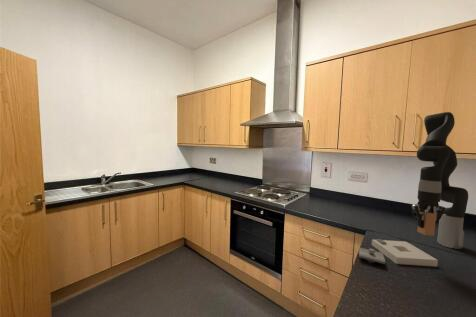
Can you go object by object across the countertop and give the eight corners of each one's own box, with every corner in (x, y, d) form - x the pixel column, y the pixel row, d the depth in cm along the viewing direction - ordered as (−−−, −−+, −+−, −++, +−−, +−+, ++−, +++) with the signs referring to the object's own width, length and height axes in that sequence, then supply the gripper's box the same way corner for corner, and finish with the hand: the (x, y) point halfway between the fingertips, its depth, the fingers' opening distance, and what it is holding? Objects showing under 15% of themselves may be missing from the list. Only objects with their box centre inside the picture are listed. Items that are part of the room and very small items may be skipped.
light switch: (382, 258, 96) (383, 248, 96) (385, 268, 87) (386, 257, 87) (358, 252, 101) (359, 242, 100) (358, 261, 92) (359, 250, 92)
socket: (405, 247, 109) (406, 240, 109) (437, 266, 91) (438, 258, 91) (371, 244, 109) (372, 238, 109) (396, 263, 92) (396, 255, 91)
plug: (425, 231, 94) (428, 206, 93) (434, 235, 90) (436, 209, 89) (417, 231, 94) (419, 206, 93) (425, 235, 90) (427, 208, 89)
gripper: (437, 189, 95) (433, 225, 96) (406, 187, 95) (403, 223, 96) (454, 192, 87) (450, 231, 88) (420, 191, 87) (417, 230, 88)
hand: (425, 227), depth 92 cm, fingers closed on plug, 4 cm apart
